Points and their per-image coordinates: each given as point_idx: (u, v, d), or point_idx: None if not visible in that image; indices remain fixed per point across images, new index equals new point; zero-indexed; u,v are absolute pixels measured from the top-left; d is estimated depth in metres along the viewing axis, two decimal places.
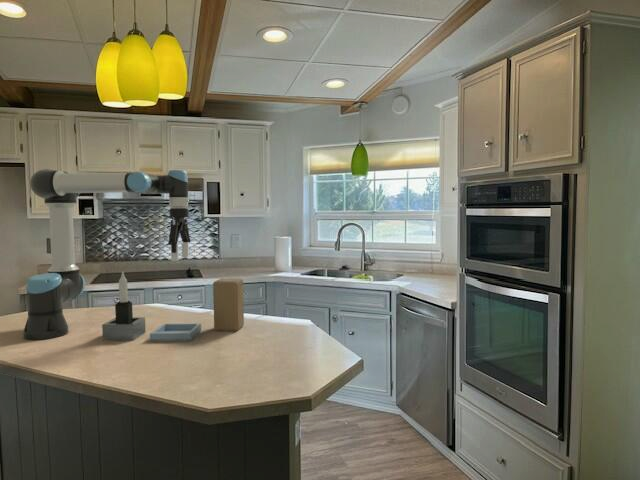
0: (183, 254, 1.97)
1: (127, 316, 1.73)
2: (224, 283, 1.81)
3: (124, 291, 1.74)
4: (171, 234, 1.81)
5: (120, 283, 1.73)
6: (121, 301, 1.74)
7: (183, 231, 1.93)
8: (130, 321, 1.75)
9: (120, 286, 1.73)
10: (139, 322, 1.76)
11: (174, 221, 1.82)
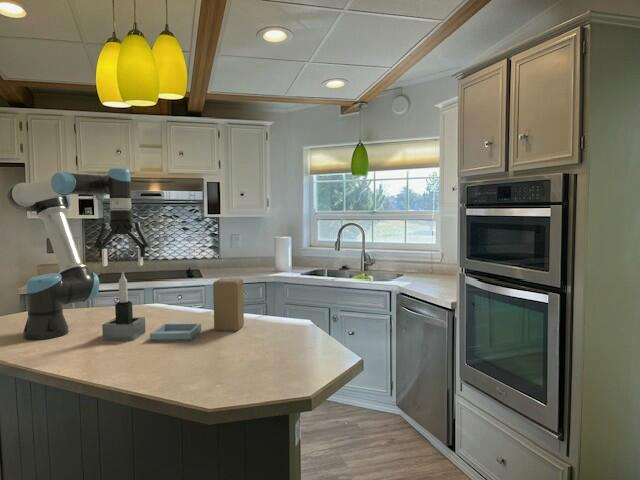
0: None
1: (127, 316, 1.73)
2: (224, 283, 1.81)
3: (124, 291, 1.74)
4: None
5: (120, 283, 1.73)
6: (121, 301, 1.74)
7: None
8: (130, 321, 1.75)
9: (120, 286, 1.73)
10: (139, 322, 1.76)
11: None
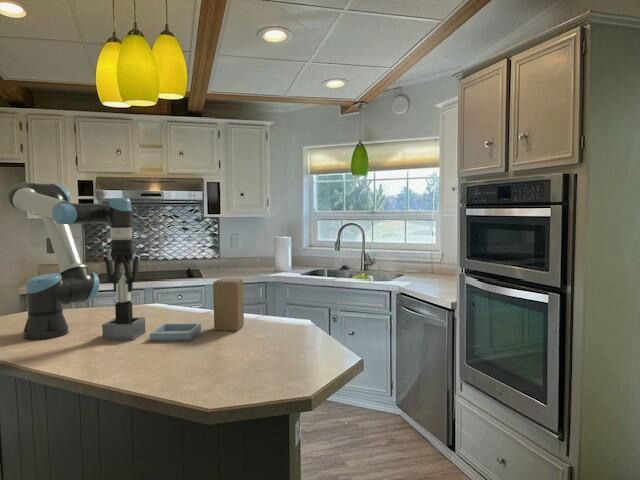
0: None
1: (127, 316, 1.73)
2: (224, 283, 1.81)
3: (124, 291, 1.74)
4: None
5: (120, 283, 1.73)
6: (121, 301, 1.74)
7: None
8: (130, 321, 1.75)
9: (120, 286, 1.73)
10: (139, 322, 1.76)
11: None
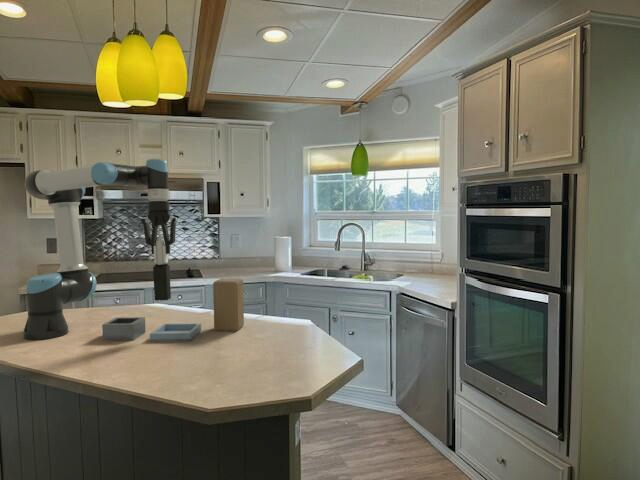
0: None
1: (165, 278, 1.72)
2: (224, 283, 1.81)
3: (162, 253, 1.72)
4: None
5: (158, 245, 1.72)
6: (159, 263, 1.72)
7: None
8: (168, 284, 1.74)
9: (158, 248, 1.72)
10: (139, 322, 1.76)
11: None
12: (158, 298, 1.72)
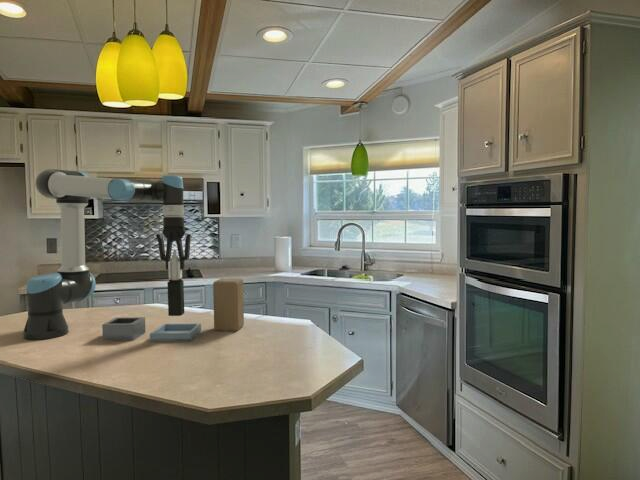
0: None
1: (179, 294, 1.72)
2: (224, 283, 1.81)
3: (176, 268, 1.73)
4: None
5: (172, 261, 1.73)
6: (173, 279, 1.73)
7: None
8: (182, 299, 1.75)
9: (172, 264, 1.73)
10: (139, 322, 1.76)
11: None
12: (172, 313, 1.73)
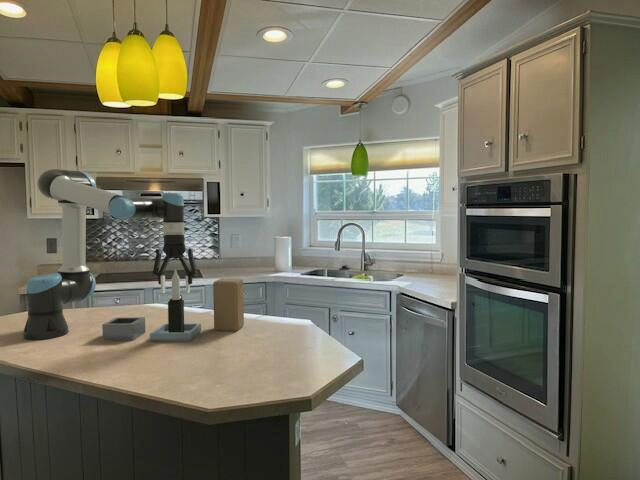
0: None
1: (179, 313, 1.73)
2: (224, 283, 1.81)
3: (177, 288, 1.73)
4: None
5: (173, 280, 1.73)
6: (174, 298, 1.73)
7: None
8: (182, 319, 1.75)
9: (173, 283, 1.73)
10: (139, 322, 1.76)
11: None
12: None
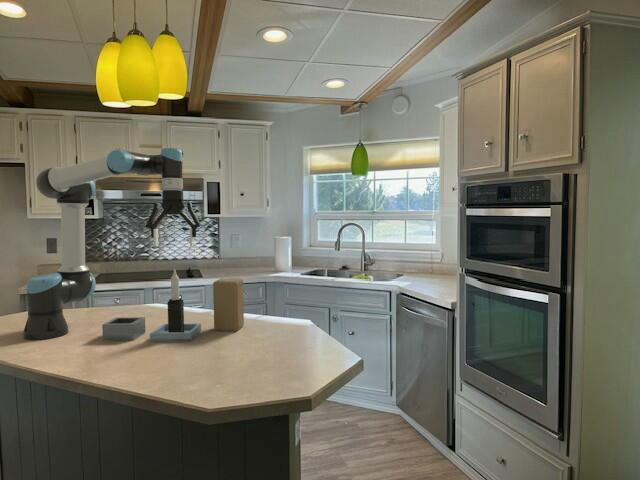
0: None
1: (179, 313, 1.73)
2: (224, 283, 1.81)
3: (176, 288, 1.73)
4: None
5: (172, 280, 1.73)
6: (173, 299, 1.73)
7: None
8: (182, 319, 1.75)
9: (172, 283, 1.73)
10: (139, 322, 1.76)
11: None
12: None
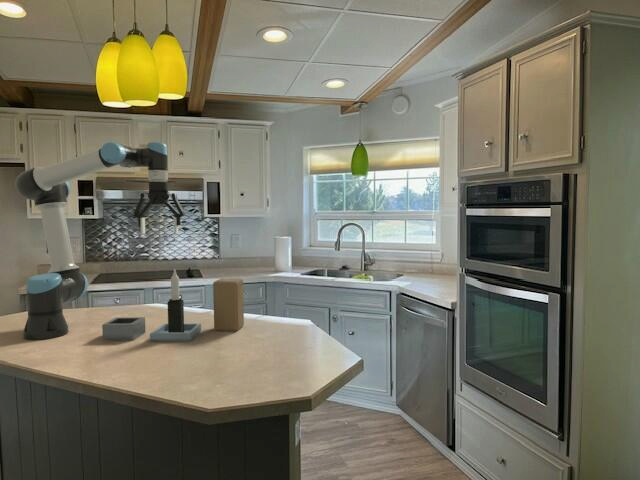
0: None
1: (179, 313, 1.73)
2: (224, 283, 1.81)
3: (176, 288, 1.73)
4: None
5: (172, 280, 1.73)
6: (173, 299, 1.73)
7: None
8: (182, 319, 1.75)
9: (172, 283, 1.73)
10: (139, 322, 1.76)
11: None
12: None
